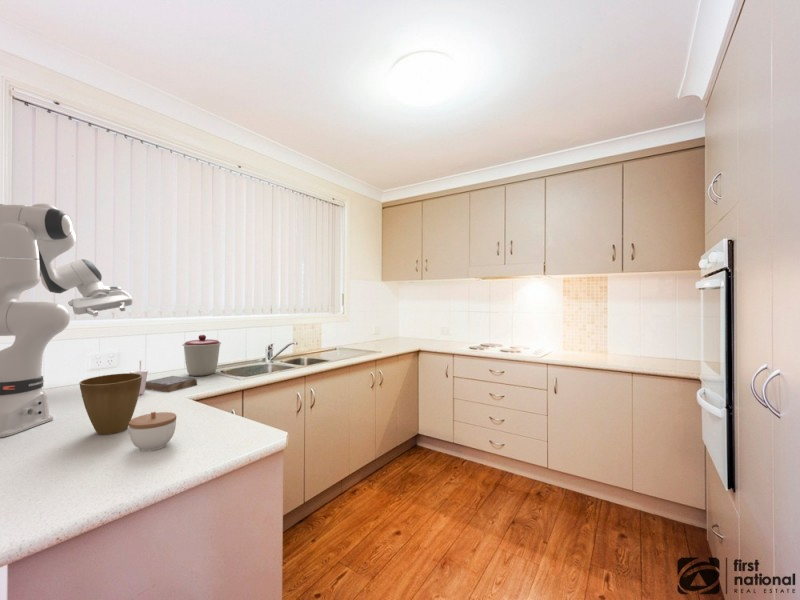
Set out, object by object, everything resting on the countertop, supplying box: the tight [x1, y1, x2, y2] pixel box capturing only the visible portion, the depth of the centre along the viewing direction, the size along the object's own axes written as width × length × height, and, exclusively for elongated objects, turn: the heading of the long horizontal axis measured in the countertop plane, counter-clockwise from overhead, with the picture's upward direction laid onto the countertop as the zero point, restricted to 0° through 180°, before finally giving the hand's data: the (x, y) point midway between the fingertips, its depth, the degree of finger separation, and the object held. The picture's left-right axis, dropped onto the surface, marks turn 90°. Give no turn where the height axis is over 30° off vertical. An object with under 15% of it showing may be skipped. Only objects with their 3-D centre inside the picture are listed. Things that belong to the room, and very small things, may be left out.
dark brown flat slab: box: [145, 375, 198, 393], centre depth 165 cm, size 14×16×3 cm
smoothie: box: [129, 360, 149, 396], centre depth 152 cm, size 6×6×14 cm
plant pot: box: [78, 372, 142, 436], centre depth 110 cm, size 15×15×16 cm
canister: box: [182, 334, 222, 377], centre depth 192 cm, size 18×18×21 cm
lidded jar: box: [128, 411, 177, 452], centre depth 98 cm, size 11×11×9 cm
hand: (109, 312), depth 152 cm, fingers open, 8 cm apart
